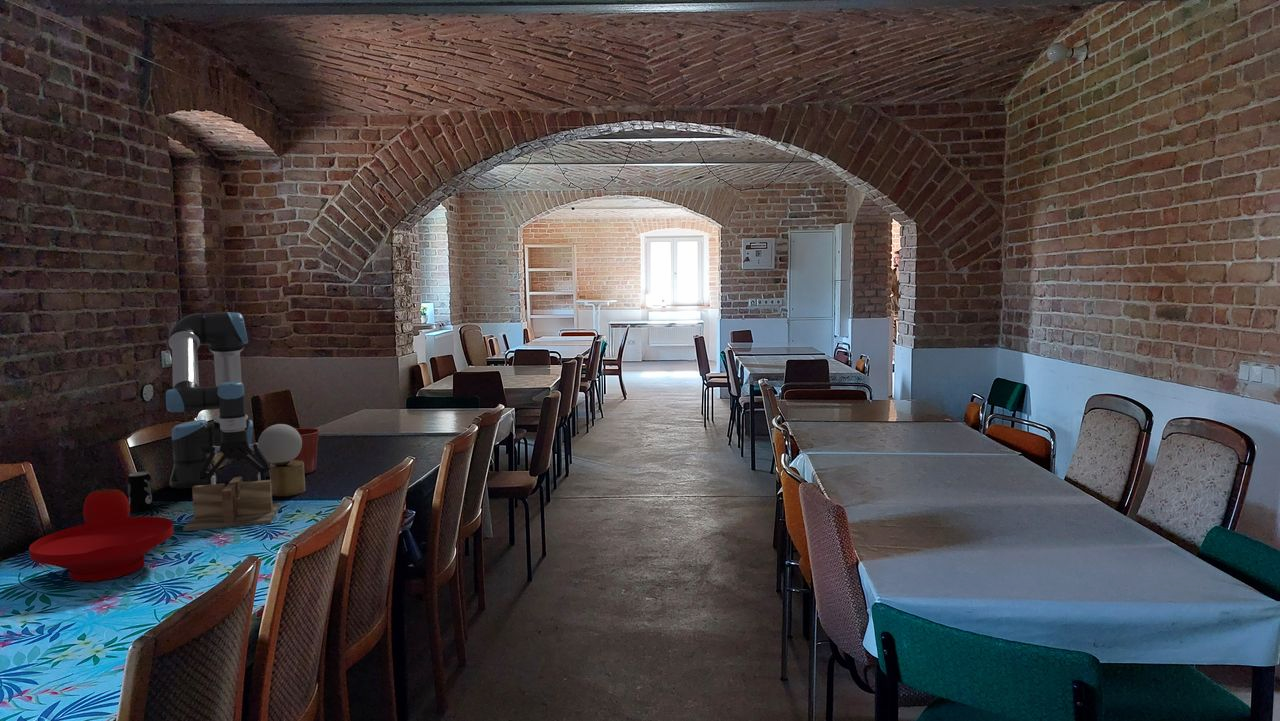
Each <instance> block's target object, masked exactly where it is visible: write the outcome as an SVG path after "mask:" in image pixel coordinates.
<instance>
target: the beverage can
mask: <svg viewBox="0 0 1280 721" xmlns="http://www.w3.org/2000/svg"><path fill="white" fill-rule="evenodd" d="M126 480H127V493H128V494H127V495H128V501H129V505H130V511H132V512H142V511H143V512H144V511H147V510H149V509H152V507H153V506H154V500H153V489H152V488H153V487H152V476H151V475H150V471H136V472H132V473H129V474H128V477H127V479H126Z"/></svg>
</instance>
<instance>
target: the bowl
mask: <svg viewBox="0 0 1280 721" xmlns="http://www.w3.org/2000/svg"><path fill="white" fill-rule="evenodd" d="M174 533H175V531H174V522H173V521H172V520H171V519H169V518H167V517H161V516H160V517H159V516H132V517H130V516H129V518H119V519H112V520H105V521H99V522H94V523H89V524H86V523H85V524H81V525H76V526H71V527H69V528H66V529H62V530H59V531H58V530H57V531H56V532H53V533H50V534H48V535H47V534H46V535H45V536H42V537H40V538H39V539H36V540H35V541H33V542H32V543H31V544H30V545H29V547H28V550H29V556H30V559H31V560H32V562H34V563H37V564H41V565H50V566H55V567H58V568H60V569H61V568H62V569H65V570H69V579H70V578H71V579H72V580H75V581H74V582H76V581H96V582H100V581H99V580H102V581H106V579H108V580H112V579H111V578H113V579H116V578H119V576H120V577H123V575H124V576H126V574H127V575H129V574H132V573H134V572H136V571H139V570H141V569H142V568H143V567H144V566H145V563H146V562H145V557H144V556H145V555H146V554H148V553H149V552H150V551H151V550H153V549H154V548H156V547H157V546H159V545H161V544H163V543H164V542H165V541H168V540H169V539H170V538H172V537H173V535H174ZM71 579H70V580H71ZM72 580H71V581H72Z"/></svg>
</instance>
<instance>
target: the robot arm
mask: <svg viewBox="0 0 1280 721" xmlns="http://www.w3.org/2000/svg"><path fill="white" fill-rule="evenodd" d="M248 343H249V339H248V333H247V328H246V325H245V318H244V316H243V315H242V313H240V312H232V311H231V312H229V311H226V312H225V311H224V312H222V311H221V312H203V313H201V312H198V313H197V312H195V313H191V314H188V315H186V316H184V317H182V318H181V319H179V320H178V321H177V322H176V323H175V324H174V326H173V327H172V328H171V330H170V332H169V334H168V345H169V346H168V347H169V348H170V349H171V351H172V352H171V356H172V357H171V359H172V361H171V362H172V364H171V366H172V388H171V389H166V391H165V404H166V405H165V406H166V411H167V412H170V413H185V412H186V413H188V412H195V411H196V412H197V411H207V410H209V411H210V410H211V411H212V410H217V414H216V415H215V416H214V417H213V422H210V423H208V421H207V420H206V419H197V420H191V421H187V422H183V423H179V424H177V425H175V426H173V427H172V429H171V441H172V457H173V459H172V460H173V467H172V471H171V475H170V478H169V487H170V488H172V489H192V487H193V486H199V485H212V484H217V474H216V471H217V470H218V469H219V467H220V466H221V465H222V464H223V463H224V462H225V461H226V459H229V460H233V459H236V460H238V459H242V458H243V459H244V460H246V461H247V462H248V463H249V464H250V465H251V466H252V467H253V468H254V469H256V470H257V472H258V473H257V481H262V480H267V478H266V472H270V471H269V470H270V469H271V466H270V463H269V462H268V461H267V460H266V458H265V457H264V455H263V454H262V452H261V451H260V449H259V444H258V442H254V443H252V441H253V426H254V424H253V420H252V419H249V416H248V414H246V400H245V399H246V398H245V392H246V391H245V387H244V383H243V382H242V365H241V364H242V363H241V352H242V351H243V350H244V349H245V345H247V344H248ZM200 346H208V350H209V352H211V353H212V354H213V360H214V361H213V364H214V377H215V386H206V387H205V386H202V387H201V386H200V378H199V361H198V360H199V359H198V356H199V355H198V349H199V347H200ZM249 449H251V451H253V452H254V454H255V455H256V457H257V459H259V461H260V463H261V464H260V463H259V461H257V460H256V459H255V458H254V457H252V455H251V454H250V453H249V452H248V450H249ZM216 454H223V455H222V456H221V457H220V459H218V461H217V462H216V463H215V464H214V466H213V465H212V463H213V459H214V457H215V456H216Z"/></svg>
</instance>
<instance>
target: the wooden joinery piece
mask: <svg viewBox="0 0 1280 721" xmlns="http://www.w3.org/2000/svg"><path fill="white" fill-rule="evenodd" d="M225 487H226V483H216V484H212V485H199V486H193V487H192V488H191V492H192V504H193V506H192V507H193V516H192V518H191V519H189V521H188V522H187V523H186V524H185V525H184V526H183V527H182V530H183V532H187V531H197V530H207V529H208V530H209V529H219V528H230V527H232V528H233V527H239V526H240V527H241V526H252V525H260V524H261V525H262V524H271V523H272V521H273V520H274V518H275V516H276V515H277V513H278V511H279V509H280V507H281V502H275V503H273V496H272V488H271V480H270V479H266V480H262V481H258V480H251V481H242V482H241V483H240V484H239V487H240V498H237V499H236V504H237V517H236V519H235V520H234V521H233V522H230V523H224V517H223V503H222V490H223V489H224V488H225Z"/></svg>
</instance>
